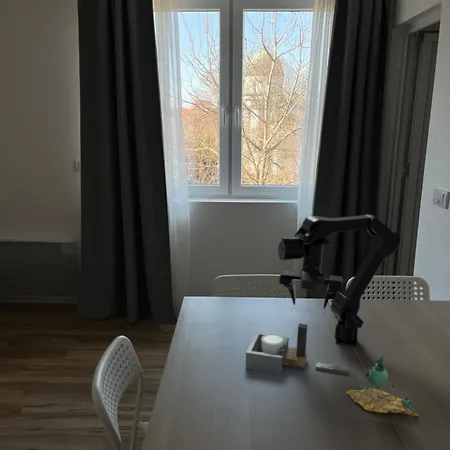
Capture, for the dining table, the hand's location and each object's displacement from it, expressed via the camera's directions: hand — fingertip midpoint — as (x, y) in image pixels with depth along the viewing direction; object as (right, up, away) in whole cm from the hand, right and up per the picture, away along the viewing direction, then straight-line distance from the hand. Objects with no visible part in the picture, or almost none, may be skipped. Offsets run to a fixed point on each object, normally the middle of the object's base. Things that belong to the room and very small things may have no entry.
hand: (309, 306), depth 144 cm
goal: (-13, -15, -7) cm, 21 cm away
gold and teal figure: (+13, -20, -27) cm, 36 cm away
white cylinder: (-12, -15, -7) cm, 21 cm away
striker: (-6, -14, -9) cm, 18 cm away
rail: (+4, -16, -11) cm, 20 cm away
